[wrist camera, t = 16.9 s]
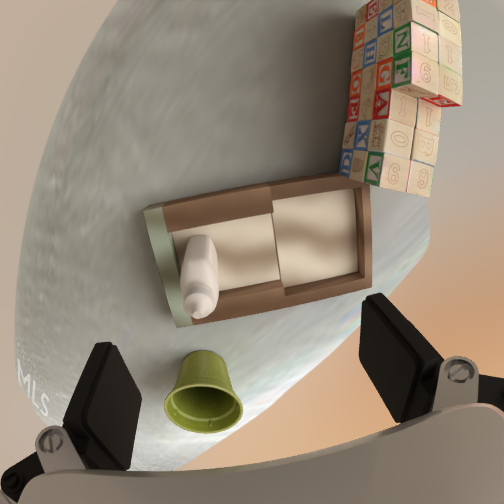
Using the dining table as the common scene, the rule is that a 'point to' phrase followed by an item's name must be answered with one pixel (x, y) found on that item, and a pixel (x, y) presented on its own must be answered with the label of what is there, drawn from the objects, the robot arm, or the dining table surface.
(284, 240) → the divided wooden tray
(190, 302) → the eye dropper bottle
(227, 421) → the plant pot
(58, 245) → the dining table surface
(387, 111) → the stack of blocks
